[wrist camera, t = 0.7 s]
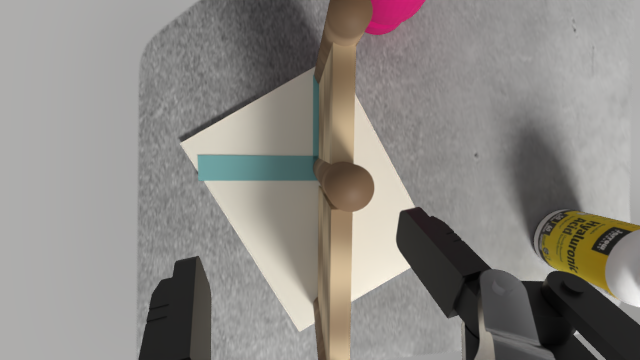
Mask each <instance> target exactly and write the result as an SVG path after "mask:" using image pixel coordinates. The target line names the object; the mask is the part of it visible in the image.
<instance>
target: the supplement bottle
mask: <svg viewBox="0 0 640 360" xmlns="http://www.w3.org/2000/svg"><path fill="white" fill-rule="evenodd" d="M534 246H535V250H536V253H537V255H538V256H539V258H540V259H541V260H542V261H543V262H545V263H546V264H548V265H549V266H551V267H553V268H555V269H557V270H559V271H564V272H569V273H572V274H574V275H577V276H579V277H581V278H582V279H584V280H585V281H587V282H588V283H589V284H591V285H592V286H593V287H594V288H596V289H598V290H600V291H602V292H604V293H606V294H608V295H610V296H613V297H614V298H617V299H619V300H621V301H623V302H625V303H628V304H630V305H633V306H637V307H640V226H639V225H635V224H631V223H626V222H623V221H619V220H615V219H610V218H606V217H602V216H598V215H593V214H589V213H585V212H580V211H575V210H569V209H564V210H558V211H555V212H553V213H551V214H549V215H547V216H546V217H545V218H544V219H543V220H542V221H541V222H540V224H539V226H538V227H537V230H536V232H535V236H534Z"/></svg>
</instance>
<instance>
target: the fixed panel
mask: <svg viewBox="0 0 640 360" xmlns="http://www.w3.org/2000/svg"><path fill="white" fill-rule="evenodd" d="M372 14H373V7H372V3H371V0H330V3H329V7H328V12H327V16H326V21H325V25H324V30H323V35H322V39H321V44H320V49H319V53H318V58H317V62H316V67H315V72H314V76H315V79H316V81H317V83H318V84H319V158H318V159H317V160H316V161H315V162H314V165H313V172H314V175H315V176H316V178H317V180H318V181H319V183H320V185H321V186H322V188H323V190H324V191H325V193H326V195H327V197H328V198H329V200H330V201H331V203H332V204H333V205H334V206H335V207H336V208H338V209H340V210H342V211H345V212H355V211H358V210H361V209H363V208H364V207H365V206H367V205H368V203H369V202H370V201H371V199H372V197H373V194H374V181H373V178H372V176H371V175H370V173H369V172H368V171H367V170H366V169H365V168H363V167H361V166H359V165H356V164H354V119H355V68H356V46H357V44H358V42H359V40H360V39H361V37H362V35H363V33H364V32H365V30H366V28H367V26H368V25H369V23H370V21H371V18H372Z"/></svg>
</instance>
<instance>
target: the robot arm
mask: <svg viewBox="0 0 640 360" xmlns="http://www.w3.org/2000/svg"><path fill="white" fill-rule="evenodd" d="M396 243H397V247H398V249H399V251H400V253H401V254H402V255H403V257H404V258H405V260H406V261H407V262H408V264H409V265H410V267H411V268H412V269H413V271H414V272H415V273H416V275H417V276H418V278H419V279H420V280H421V282H422V283H423V285H424V286H425V287H426V289H427V290H428V292H429V293H430V294H431V296H432V297H433V299H434V300H435V301H436V303H437V304H438V306H439V307H440V308H441V310H442V311H443V313H444V314H445V315H446V317H447V318H451V317H454V316H457V315H459V316H460V318H461V319H462V320H463V321H462V324H461V337H462V360H598V359H597V358H596V357H595V356H594V355H593V354H592V353H591V352H590V351H588V349H587V348H586V347H585V346H584V345H583V344H582V343H581V342H580V341H579V340H578V339H577V338H576V337H575V336H574V335H573V334H574V333H575V332H576V330H577V331H578V332H579V333H580V334H581V335H582V336H583V337H584V338H585V339H586V340H587V341H588V342H589V343H590V344H591V345H592V346H593V347H594V348H595V349H596V350H597V351H598V352H599V353H600V354H601V355H602V356H603V357H604V358H605V359H606V360H640V325H639V324H638V323H637V322H635V321H634V320H633V319H632V318H630V317H629V316H628V315H627V314H626V313H624V312H623V311H622V310H621V309H620V308H618V307H617V306H616V305H615V304H614V303H612V302H611V301H610V300H609V299H608V298H606V297H605V296H604V295H603V294H602V293H600V292H599V291H598V290H597V289H595V288H594V287H593V286H592V285H591V284H589V283H588V282H587V281H585V280H584V279H582V278H581V277H579V276H577V275H574V274H572V273H569V272H564V271H553V272H551V273H549V274H548V276H547V278H546V279H545V281H520V280H518V279H517V278H516V277H514V276H513V275H511V274H509V273H507V272H505V271H501V270H496V269H491V268H490V267H489V266H488V265H487V264H486V263H485V262H484V261H483V260H482V259H481V258H480V257H479V256H478V255H477V254H476V253H475V252H474V251H473V250H472V249H471V248H470V247H469V246H468V245H467V244H466V243H465V242H464V241H462V240H461V238H460V237H459V236H458V235H457V234H456V233H454V231H453V230H452V229H451V228H450V227H449V226H448V225H447V224H446V223H445V222H443V221H441V220H439V219H438V218H436V217H434V216H431V217H429V216H428V215H427V214H426V212H425V211H424V210H423V209H422V208H420V207H415V208H410V209H406V210H402V211H401V212H400V214H399V220H398V226H397V233H396ZM139 360H211V291H210V286H209V282H208V279H207V277H206V274H205V271H204V268H203V265H202V263H201V260H200V258H199V256H196V257H191V258H187V259H183V260H178V261H176V262H175V265H174V272H173V277H172V278H168V279H163V280H161V281H160V283H159V284H158V286H157V287H156V289H155V290H154V292H153V294H152V297H151V302H150V307H149V312H148V316H147V324H146V326H145V331H144V336H143V340H142V345H141V350H140V355H139Z"/></svg>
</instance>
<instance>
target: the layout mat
mask: <svg viewBox="0 0 640 360" xmlns="http://www.w3.org/2000/svg"><path fill="white" fill-rule="evenodd" d="M315 67H316V66H315ZM315 67H313V68H312V69H310V70H308V71H306V72H305V73H303V74H301V75H299V76H298V77H296V78H294V79H292V80H290V81H289V82H287V83H285V84H283V85H282V86H280V87H278V88H276V89H275V90H273V91H271V92H269V93H268V94H266V95H264V96H262V97H261V98H259V99H257V100H255V101H254V102H252V103H250V104H248V105H247V106H245V107H243V108H241V109H240V110H238V111H236V112H234V113H233V114H231V115H229V116H227V117H226V118H224V119H222V120H220V121H219V122H217V123H215V124H213V125H212V126H210V127H208V128H206V129H205V130H203V131H201V132H199V133H197V134H196V135H194V136H192V137H190V138H189V139H187V140H185V141H183V142H182V143H180V144H181V146H182V147H183V149H184V150H185V152H186V154H187V155H188V157H189V158H190V160H191V161H192V163H193V165H194V166H195V168H196V169H197V171H198V179H199V181H204V182H205V184H206V185H207V187H208V188H209V190H210V191H211V193H212V195H213V196H214V198H215V199H216V201H217V203H218V204H219V206H220V207H221V209H222V210H223V212H224V214H225V215H226V217H227V218H228V220H229V221H230V223H231V225H232V226H233V228H234V229H235V231H236V233H237V234H238V236H239V237H240V239H241V240H242V242H243V244H244V245H245V247H246V248H247V250H248V251H249V253H250V255H251V256H252V258H253V259H254V261H255V263H256V264H257V266H258V267H259V269H260V270H261V272H262V274H263V275H264V277H265V278H266V280H267V281H268V283H269V285H270V286H271V288H272V289H273V291H274V293H275V294H276V296H277V297H278V299H279V300H280V302H281V304H282V305H283V307H284V308H285V310H286V312H287V313H288V315H289V316H290V318H291V319H292V321H293V323H294V324H295V326H296V327H297V329H298V330H299V332H300V331H302V330H303V329H305V328H307V327H308V326H310V325H312V324H314V323H315V320H314V309H313V303H314V300H315V299H316V298H317V297H318V186H321V185H320V183H319V181H318V180H317V178H316V176H315V175H314V172H313V165H314V162H315V161H316V160H317V159H318V158H319V84H318V83H317V81H316V79H315V76H314V72H315ZM354 164H356V165H359V166H361V167H363V168H365V169H366V170H367V171H368V172H369V173H370V175H371V176H372V178H373V181H374V194H373V197H372V199H371V201H370V202H369V203H368V205H367V206H365V207H364V208H363V209H361V210H358V211H355V212H353V221H352V272H351V302H352V301H353V300H355V299H357V298H359V297H360V296H362V295H364V294H365V293H367V292H369V291H371V290H372V289H374V288H376V287H378V286H379V285H381V284H383V283H384V282H386V281H388V280H390V279H391V278H393V277H395V276H397V275H398V274H400V273H402V272H403V271H405V270H407V269H409V268H410V265H409V264H408V262H407V261H406V260H405V258H404V257H403V255H402V254H401V253H400V251H399V249H398V247H397V243H396V233H397V226H398V220H399V214H400V212H401V211H402V210H406V209H410V208H415V206H414V204H413V202H412V200H411V198H410V197H409V195H408V193H407V191H406V189H405V187H404V185H403V183H402V181H401V180H400V178H399V176H398V174H397V172H396V170H395V168H394V166H393V164H392V163H391V161H390V159H389V157H388V155H387V153H386V151H385V149H384V148H383V146H382V144H381V142H380V140H379V138H378V136H377V134H376V132H375V131H374V129H373V127H372V125H371V123H370V121H369V119H368V117H367V115H366V114H365V112H364V110H363V108H362V106H361V104H360V102H359V100H358V99H357V97H356V95H355V119H354Z"/></svg>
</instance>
